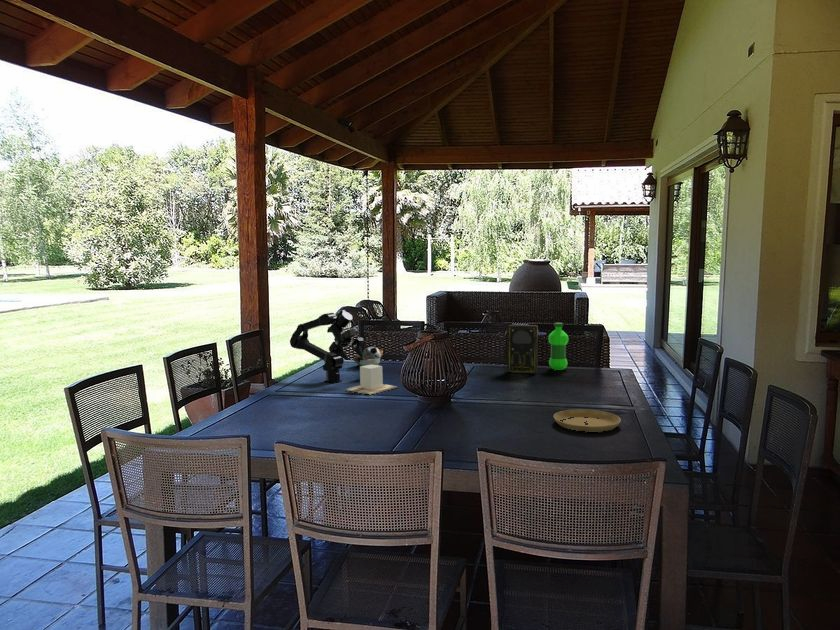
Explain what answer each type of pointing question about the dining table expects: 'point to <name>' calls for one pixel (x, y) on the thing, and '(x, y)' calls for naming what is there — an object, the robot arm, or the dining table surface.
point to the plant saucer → (594, 424)
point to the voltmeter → (522, 348)
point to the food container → (370, 361)
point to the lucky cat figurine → (369, 354)
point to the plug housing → (371, 377)
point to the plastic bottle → (558, 347)
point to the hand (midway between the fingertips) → (355, 358)
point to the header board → (374, 391)
